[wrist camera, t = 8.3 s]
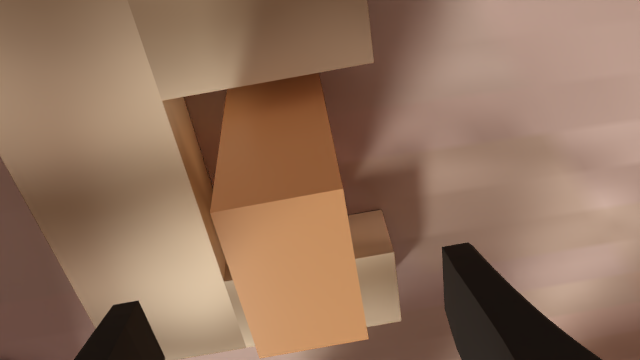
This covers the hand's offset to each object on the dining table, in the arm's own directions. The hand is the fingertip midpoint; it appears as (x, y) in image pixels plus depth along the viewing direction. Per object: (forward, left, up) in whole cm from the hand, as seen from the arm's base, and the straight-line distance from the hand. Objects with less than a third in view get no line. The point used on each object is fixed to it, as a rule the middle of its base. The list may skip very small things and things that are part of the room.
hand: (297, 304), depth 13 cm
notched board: (0, +2, -8) cm, 8 cm away
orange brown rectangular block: (0, 0, -8) cm, 8 cm away
